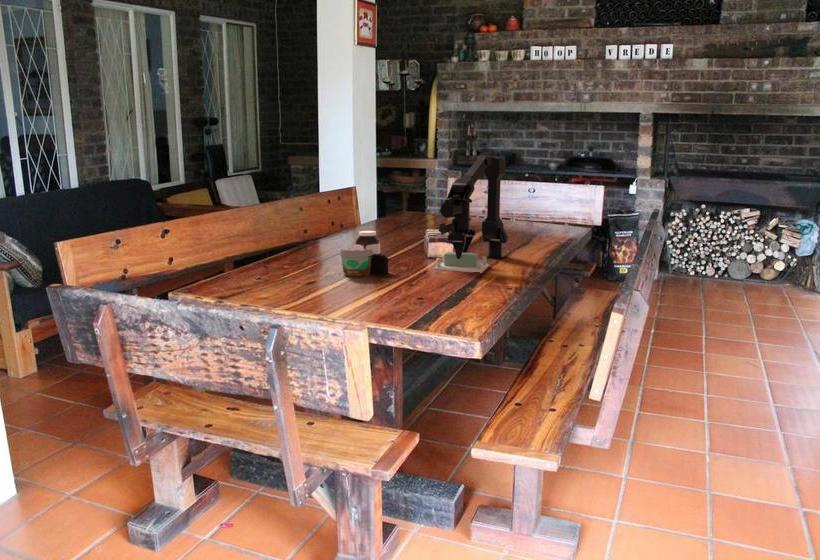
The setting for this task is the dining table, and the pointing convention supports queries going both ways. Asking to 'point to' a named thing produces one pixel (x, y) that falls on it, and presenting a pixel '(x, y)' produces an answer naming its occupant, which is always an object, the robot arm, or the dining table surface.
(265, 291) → the dining table surface
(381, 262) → the film camera
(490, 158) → the robot arm
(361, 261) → the food container
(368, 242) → the spread jar
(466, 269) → the plate
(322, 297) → the dining table surface
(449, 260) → the green board
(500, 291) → the dining table surface
